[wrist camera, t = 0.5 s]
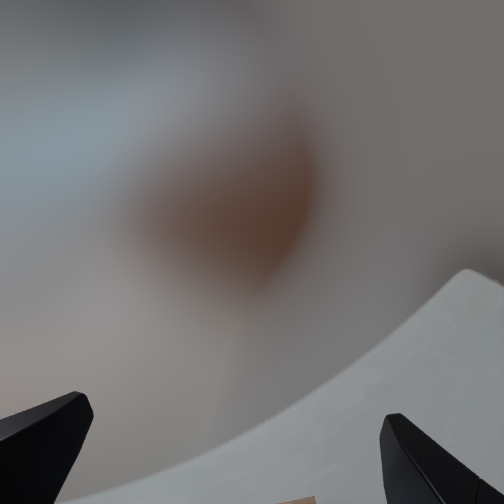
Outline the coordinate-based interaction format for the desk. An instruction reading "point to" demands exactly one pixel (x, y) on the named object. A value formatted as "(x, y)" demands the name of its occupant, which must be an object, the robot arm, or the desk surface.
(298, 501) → the tower base
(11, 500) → the robot arm
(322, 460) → the desk surface
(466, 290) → the desk surface
